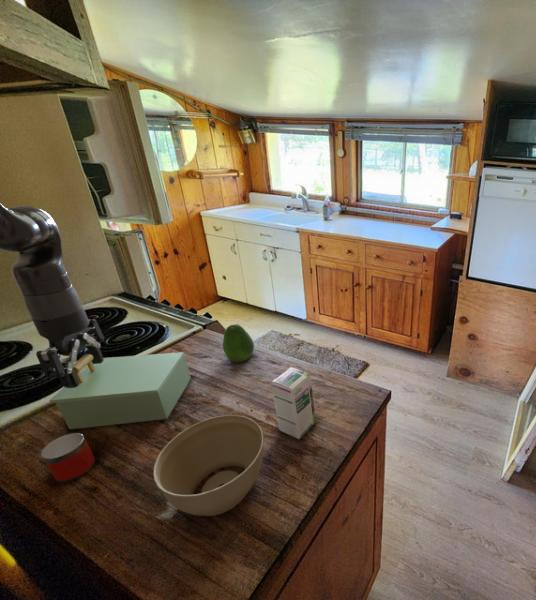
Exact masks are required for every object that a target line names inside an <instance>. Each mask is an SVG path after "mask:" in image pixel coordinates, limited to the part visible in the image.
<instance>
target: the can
mask: <svg viewBox="0 0 536 600" xmlns="http://www.w3.org/2000/svg"><path fill="white" fill-rule="evenodd" d="M93 453H94V452H93V451H92V450H91V447H90V446H89V443H88V441H87V440H86V438H85V436H84V434H82V433H79V432H72V433H68V434H64V435H62V436H60V437H58V438H55V439H53V440H52V441H50V442H49V443H48V444H47V445H46V446H44V447H43V449H42V450H41V453H40V457H41V458H42V460H43V462H44V464H45V465H46V467H47V469H48V471H49V472H50V473H51V475H52V477H53V478H54V479H55V481H56V482H59V483H60V482H61V483H63V482H69V481H73V480H75V479H77V478H80V477H81V476H83V475H84V474H86V473H87V472H89V470H91V468H92V467H93V466H94V465H95V463H96V458H95V455H94V454H93Z"/></svg>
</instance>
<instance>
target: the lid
mask: <svg viewBox="0 0 536 600" xmlns="http://www.w3.org/2000/svg"><path fill="white" fill-rule="evenodd" d="M184 355H185V352H184V351H182V352H167V353H155V354H154V353H152V354H140V355H139V354H138V355H125V356H112V357H103V359H104V361H103V362H102V363H100V364H93V363H92V360H93V356H92V355H91V354H87V353H85V354H84V355H82V356H81V357H80V358H79V359H78V360H76V361H75V362H74V363H73V369H72V371H74V373H75V375H76V377H77V380H78V382H79V385H78V386H77V387H76V388H66V387H64V386H63V387H62V388H61V389H60V390H59V391H58V392H57V393H56V394H54V395H53V396H52V397H51V398H50V399H49V402H50V404H56V403H59V402H70V401H80V400H91V399H101V398H112V397H122V396H133V395H143V394H154V393H158V392H159V391H160V390H161V388H162V387H163V385H164V384H165V382H166V381H167V379H168V378H169V376H170V375H171V373H172V372H173V371H174V369H175V368H176V366H177V365H178V363H179V362H180V360H181V359H182V357H183V356H184Z"/></svg>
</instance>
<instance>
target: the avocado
mask: <svg viewBox="0 0 536 600" xmlns="http://www.w3.org/2000/svg"><path fill="white" fill-rule="evenodd" d="M222 348H223V353H224V354H225V356H226V357H227V359H228V360H229V361H231V362H232V363H243V362H246V361H248V360H249V359H250V358H251V356H252V355H253V353H254V349H255V344H254V340H253V338H252V337H251V336H250V334H249V333H248V332H247V331H246V330H245V329H244V327H243V326H241V325H240V324H238V323H235V324H230V325H229V326H227V327H226V328H225V330H224V333H223V340H222Z"/></svg>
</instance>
